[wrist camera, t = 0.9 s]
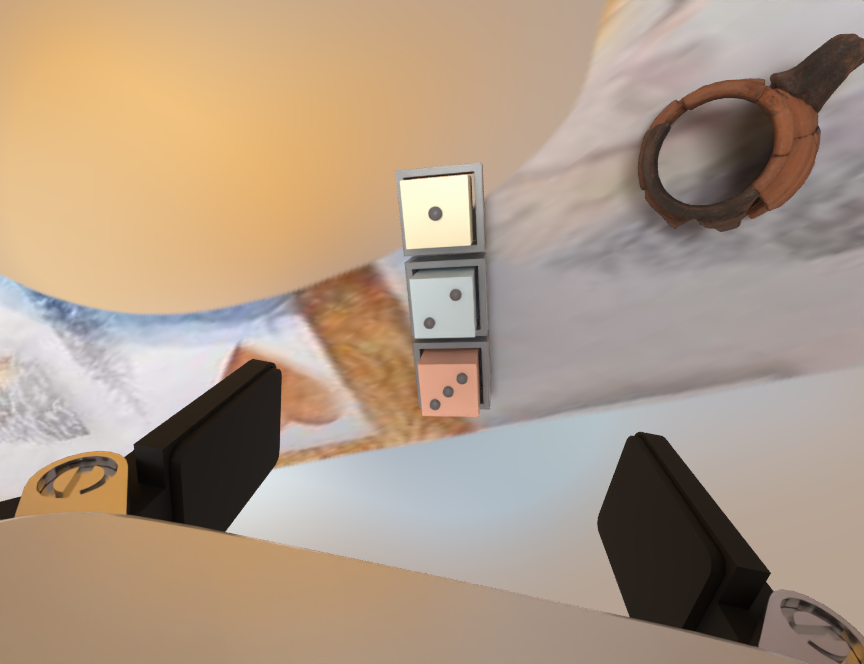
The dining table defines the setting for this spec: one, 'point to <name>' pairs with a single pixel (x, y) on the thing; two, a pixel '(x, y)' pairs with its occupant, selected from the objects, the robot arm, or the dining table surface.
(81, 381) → the dining table surface
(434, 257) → the tile two base
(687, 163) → the dining table surface
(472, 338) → the tile base
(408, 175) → the tile one base
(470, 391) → the button three
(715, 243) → the dining table surface
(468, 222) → the button one
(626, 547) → the robot arm
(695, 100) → the pottery mug
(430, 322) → the button two
